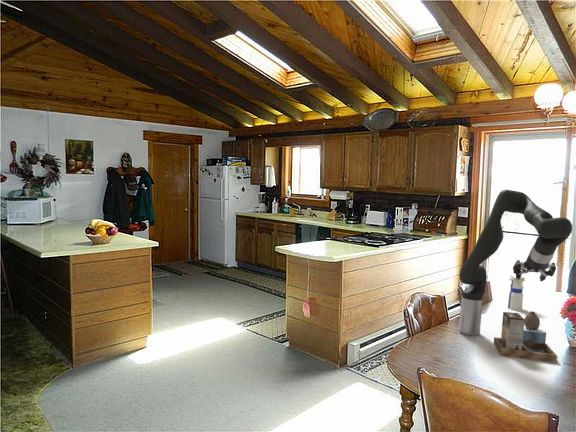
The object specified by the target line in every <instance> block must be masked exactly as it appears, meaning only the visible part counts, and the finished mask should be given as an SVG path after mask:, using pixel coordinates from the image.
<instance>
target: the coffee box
mask: <svg viewBox="0 0 576 432" xmlns="http://www.w3.org/2000/svg"><path fill="white" fill-rule="evenodd" d="M524 322H525V317H524V318H523V316H522V315H521V314H520V313H518V312H509V311H508V312H507V311H503V313H502V322H501V323H502V324H501V337H500V338H501V345H502V347H503V348H507V349H515V350H522V343H523V332H524V330H525V324H524Z"/></svg>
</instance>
